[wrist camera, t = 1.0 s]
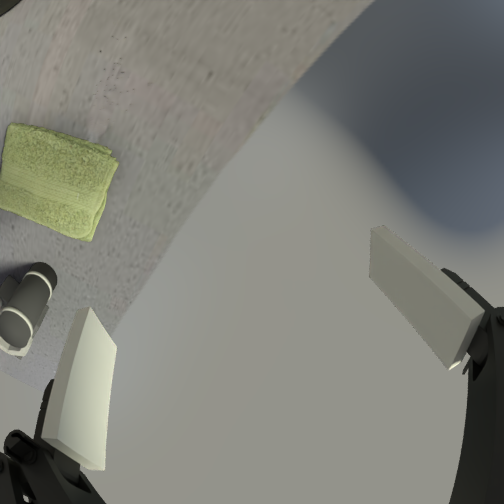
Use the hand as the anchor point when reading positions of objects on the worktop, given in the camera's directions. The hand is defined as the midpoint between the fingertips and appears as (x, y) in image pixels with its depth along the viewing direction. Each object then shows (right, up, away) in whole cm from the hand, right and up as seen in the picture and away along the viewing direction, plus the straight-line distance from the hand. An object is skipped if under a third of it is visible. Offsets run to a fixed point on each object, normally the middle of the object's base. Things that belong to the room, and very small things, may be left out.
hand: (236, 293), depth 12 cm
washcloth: (-25, +12, +18) cm, 33 cm away
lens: (-31, -2, +23) cm, 39 cm away
